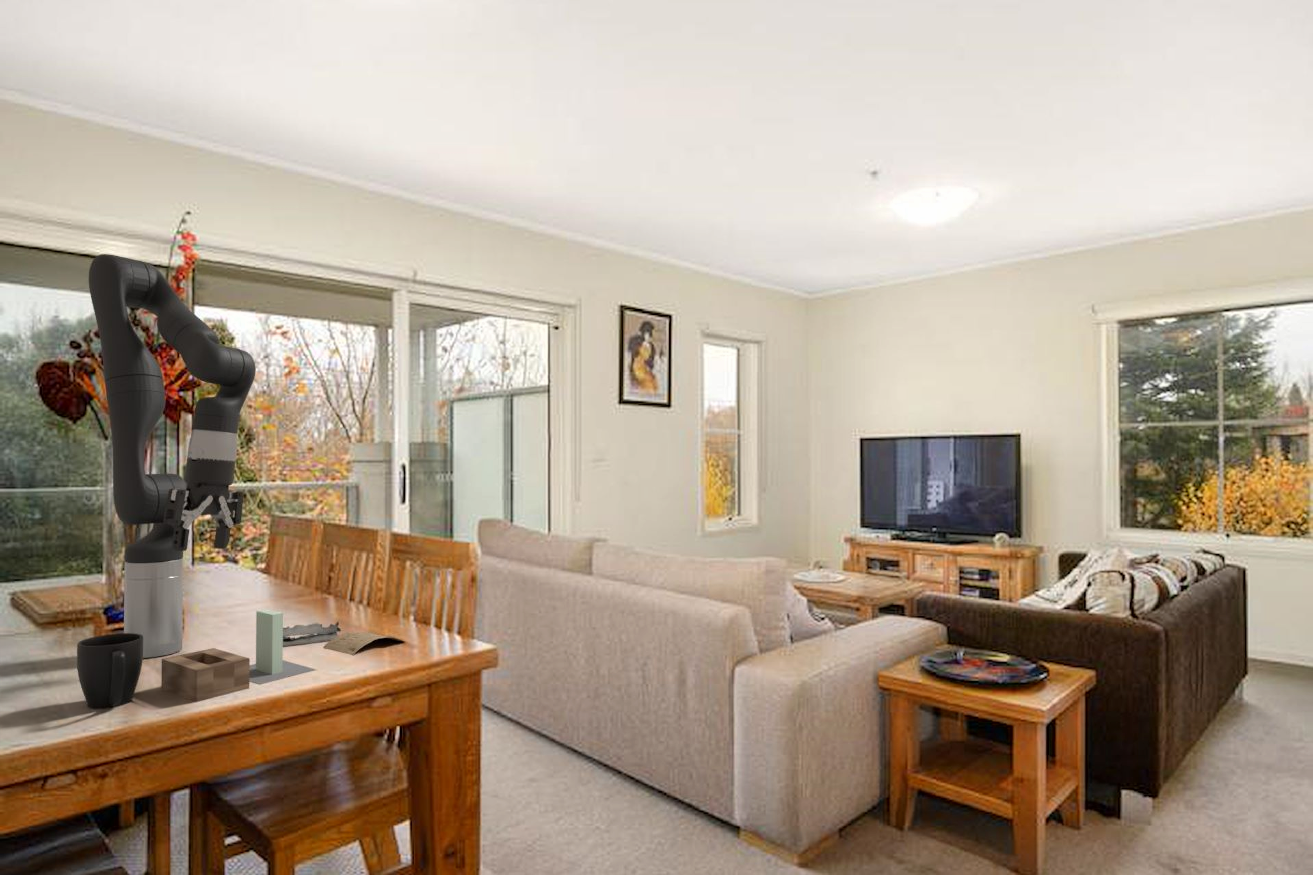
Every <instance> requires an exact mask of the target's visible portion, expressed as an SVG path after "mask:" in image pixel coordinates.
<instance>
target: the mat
mask: <svg viewBox="0 0 1313 875" xmlns="http://www.w3.org/2000/svg"><path fill="white" fill-rule="evenodd" d="M314 671H317V668H314V667H313V668H312V667H309V666H307V665H306V666H305V665H302V664H298V663H294V662H291V661H287V660H285V659H283V661H282V672H280V673H276V674H269V673H266V672H262V671H259V670H256V663H253V664H250V668H249V683H253V684H257V685H264V684H268V683H272V682H274V681H275V682H276V681H279V680H283V679H286V678H291V677H294V676H298V675H303V674H305V673H309V672H314Z"/></svg>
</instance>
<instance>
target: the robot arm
mask: <svg viewBox="0 0 1313 875" xmlns="http://www.w3.org/2000/svg"><path fill="white" fill-rule="evenodd" d="M89 266H90V267H89V271H88V288H89V294H90V299H91V304H92V307H93V312H94V316H95V319H96V320H95V321H96V324H97V325H96V326H97V330H98V335H99V340H100V346H101V355H102V364H103V375H104V377H103V378H104V386H105V388H104V389H105V395H106V403H107V408H108V414H109V415H108V416H109V424H110V431H111V432H110V434H111V444H112V445H111V446H112V494H113V504H114V508H115V512H116V515H117V517H118V519H119V520H120V521H121V522H122V524H125V525H128V526H139V525H150V524H151V525H152V524H153V525H152V529H151V530H150V531H149V533H148V534H146V535H145V536H143V537H141V538H140V539H138V540H136V541H134V542H132V543H130V544H128V545H127V546H126V547H125V548H124V575H123V576H124V589H123V590H124V591H123V593H124V600H123V603H124V604H123V606H124V609H123V633H134V634H141V635H143V659H144V658H145V659H146V658H157V657H163V656H166V655H167V656H168V655H171V654H174V653H177V652H179V651H181V650H182V649H183V623H184V622H183V620H184V619H183V616H184V606H183V605H184V551H185V552H186V551H187V550H188V545H189V544H188V543H189V536H190V529H188V528H189V527H190V526H191V524H192V523H193V522H194V521H195V520H197V519H198V518H199V517H201V516H207V515H210V517H211V518H212V519H214V521H215V523H216V525H217V526H216V527H215V537H214V543H213V544H214V545H213V546H214V548H215V549H223V550H225V549H227V547H228V545H229V543H230V535H231V534H230V533H231V529H232V527H233V526H235V525H239V524H241V523H242V519H243V516H242V514H243V504H244V503H243V501H244V493H243V491H238V490H230V489H229V487H230V486H232V485H233V484H234V479H235V468H236V460H237V452H238V432H239V424H240V414H241V410H242V408H243V406H244V404H245V402H246V399H247V397H248V395H249V392H250V390H251V388H252V385H253V384H254V383H253V382H254V380H255V377H256V370H257V369H256V363H255V360H254V358H253V356H252V355H251V354H250V353H249V352H247V351H246V350H243V349H240V348H235V347H230V346H227V345H224V344H220V339H219V337H218V335H217V333H216V332H215V331H214V330H213V329H212V328H211V327H210V326H209V325H208V324H207V323H205V322H204V321H203V320H202V319H201V318H200V317H198V316H197V315H196V314H195V313H194V312H193V311H191V309H189V307H188V306H187V305H186V304H185V302H184V301H183V300H182V299H181V297H180V296H179V295H178V294H177V292H176V291H175V289H174V288H173V287H172V286H171V284H170V282H169V281H168V280H167V278H166V277H165V276H164V274H163V273H162V272H161V271H160V270H159V269H158V268H157V267H155V266H154V265H152V264H150V263H148V262H146V261H142V260H137V259H134V258H133V259H132V258H128V257H123V256H121V255H120V256H119V255H114V254H108V253H101V254H99V255H97V256H96V257H94V259H93V260H92V261H91V264H90V265H89ZM128 308H132V309H143V310H145V311H147V312H149V313H151V314H152V315H154V316H156V319H157V320H156V327H157V331H158V333H159V334H160V337H161V338H162V339H163V341H165V342H166V343H167V344H168V345H169V346H170V347H171V348H172V349H173V350H175V351H176V352H177V354H178V355H180V357H181V359H182V361H183V363H184V366H185V367H186V369H187V371H188V372H189V373H190V374H191V375H192V376H193V378H194V377H195V379H197V380H199V381H201V382H203V383H207V384H212V385H217V386H220V388H219V389H218V391H217V393H216V395H215V396H206V397H202V398H200V399H198V400H197V401H196V403H195V407H194V414H193V420H192V421H193V422H192V430H191V434H190V438H189V442H188V448H187V449H188V450H187V456H186V464H185V472H184V478H183V476H181V475H179V474H176V473H146V472H145V464H144V463H145V460H144V459H145V449H146V445H147V442H148V440H149V438H150V436H151V434H152V433H153V431H154V429H155V428H156V426H157V424H158V422H159V421H160V419H161V417H162V415H163V412H164V410H165V408H166V393H165V382H164V376H163V372H162V369H161V367H160V365H159V363H158V361H157V360H156V358H155V357H154V355H153V354H152V353H151V351H150V350H149V349H148V347H147V346H146V345H145V344H144V342H143V341H142V340H141V338H140V337H139V336H138V334H137V333H136V331H135V329H134V328H133V326H132V323H131V320H130V316H129V314H128Z"/></svg>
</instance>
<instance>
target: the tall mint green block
mask: <svg viewBox="0 0 1313 875" xmlns="http://www.w3.org/2000/svg"><path fill="white" fill-rule="evenodd" d="M255 616H256V617H255V618H256V621H255V622H256V623H255V625H256V626H255V632H256V634H255V664H256V670H259V671H262V672H266V673H269V674H276V673H280V672H282V661H283V660H284V659H283V654H284V653H283V650H284V649H283V647H284V646H283V627H284V612H279V611H275V610H271V609H262V610H256V613H255Z"/></svg>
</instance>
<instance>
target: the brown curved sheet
mask: <svg viewBox="0 0 1313 875" xmlns="http://www.w3.org/2000/svg"><path fill="white" fill-rule="evenodd" d="M378 639H385V640H386V639H387V640H390V639H391V641H395V640H396V641H395V642H400V641H402V642H401V643H406V641H404V640H402V639H399V638H396V637H393V636H391V637H390V636H385V635H381V634H377V633H372V632H371V633H370V632H368V631H361V630H360V631H357V630H356V631H350V632H345V633H341V634H340V635H338V636H337V637H336V638H334V639H332V640H330V641H327V642H326V643H325V645H324V646H322V648H323V650H324V649H325V650H329V651H332V652H333V651H334V652H338V653H342V654H347V655H349V656H350V655H351V656H354V655H355V654H356V653H357V652H358V651H359V650H360V649H361V648H364V646H366V645H368V644H370V643H372V642H373V641H375V640H376V641H377V640H378Z"/></svg>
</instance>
